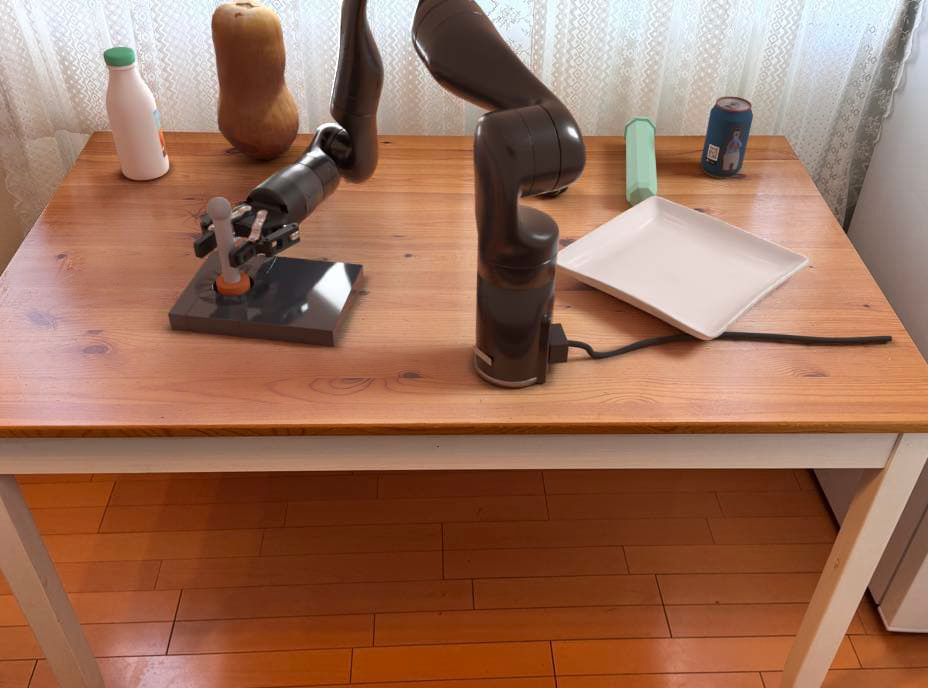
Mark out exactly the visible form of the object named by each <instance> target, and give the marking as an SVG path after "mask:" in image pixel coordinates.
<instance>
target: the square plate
mask: <svg viewBox="0 0 928 688" xmlns="http://www.w3.org/2000/svg"><path fill="white" fill-rule="evenodd" d="M811 262H812V260H811V259H810V258H809V257H808V256H806V255H804V254H802V253H799V252H797V251H794V250H792V249H790V248H787V247H784V246H783V245H781V244H778V243H776V242H773V241H772V240H769V239H766V238H764V237H761V236H759V235H757V234H754V233H752V232H750V231H748V230H745V229H743V228H740V227H738V226H735V225H733V224H731V223H728V222H725V221H723V220H721V219H719V218H716V217H714V216H712V215H709V214H707V213H703V212H701V211H698V210H696V209H693V208H691V207H688V206H685V205H682V204H680V203H677V202H675V201H671V200H669V199H666V198H664V197H661V196H658V195H657V196H651V197H649V198H647V199H646V200H644V201H642V202H640V203H639V204H637V205H635V206H634V207H633V206H631V207H630V208H628V209H627V210H625V211H623V212H622V213H620V214H618V215H617V216H614V217H613V218H611V219H610V220H608V221H606V222H605V223H603V224H601V225H600V226H598V227H596V228H595V229H593V230H592V231H589V232H587V233H586V234H585V235H583V236H581V237H580V238H578V239H577V240H575V241H572V243H570V244H568V245H567V246H565V247H564V248H562V249H560V250H558V257H557V268H556V269H558V270H560V272H562V273H564V274H566V275H568V276H570V277H571V278H573V279H575V280H578V281H579V282H582V283H584V284H586V285H588V286H590V287H593V288H595V289H597V290H599V291H602V292H604V293H606V294H608V295H611V296H613V297H614V298H617V299H618V300H621V301H623V302H625V303H627V304H629V305H632V306H633V307H635V308H638V309H640V310H642V311H643V312H646V313H647V314H650V315H651V316H654V317H655V318H658V319H660V320H661V321H663V322H665V323H667V324H669V325H671V326H672V327H674V328H676V329H678V330H679V331H680V330H681V331H682V332H684V333H685V334H686V333H688V334H690V335H693V336H695V337H697V338H700V340H702V341H711V340H713V339H717V338H716V337H718V336H719V335H721V334H722V333H723V332H727V330H728V329H730V328H731V327H732V326H733V325H734V324H735V323H737V321H738V320H739V319H740V318H742V317H743V316H744V315H745V314H746V313H747V312H748V311H749V310H751V309H752V308H754V306H755V305H757V304H758V303H759V302H760V301H761V300H762V299H764V298H765V297H766V296H768V295H770V293H772V292H773V291H774V290H776V289H778V288H779V287H780V286H782V285H784V284H785V283H786V282H788V281H789V280H790V279H791V278H793V277H794V276H795V275H797V274H798V273H799V272H801V271H802V270H803V269H805V268H806V267H808V266H809V265H810V264H811Z"/></svg>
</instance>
